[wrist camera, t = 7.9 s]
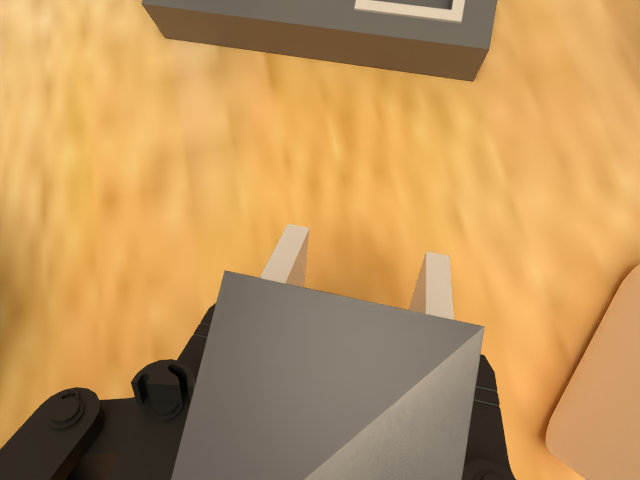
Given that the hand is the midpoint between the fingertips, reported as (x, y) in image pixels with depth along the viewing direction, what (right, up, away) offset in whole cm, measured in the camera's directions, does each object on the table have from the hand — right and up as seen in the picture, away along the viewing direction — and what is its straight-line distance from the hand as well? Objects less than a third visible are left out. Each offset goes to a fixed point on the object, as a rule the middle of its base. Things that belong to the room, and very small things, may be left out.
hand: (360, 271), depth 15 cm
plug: (-1, -4, +3) cm, 5 cm away
